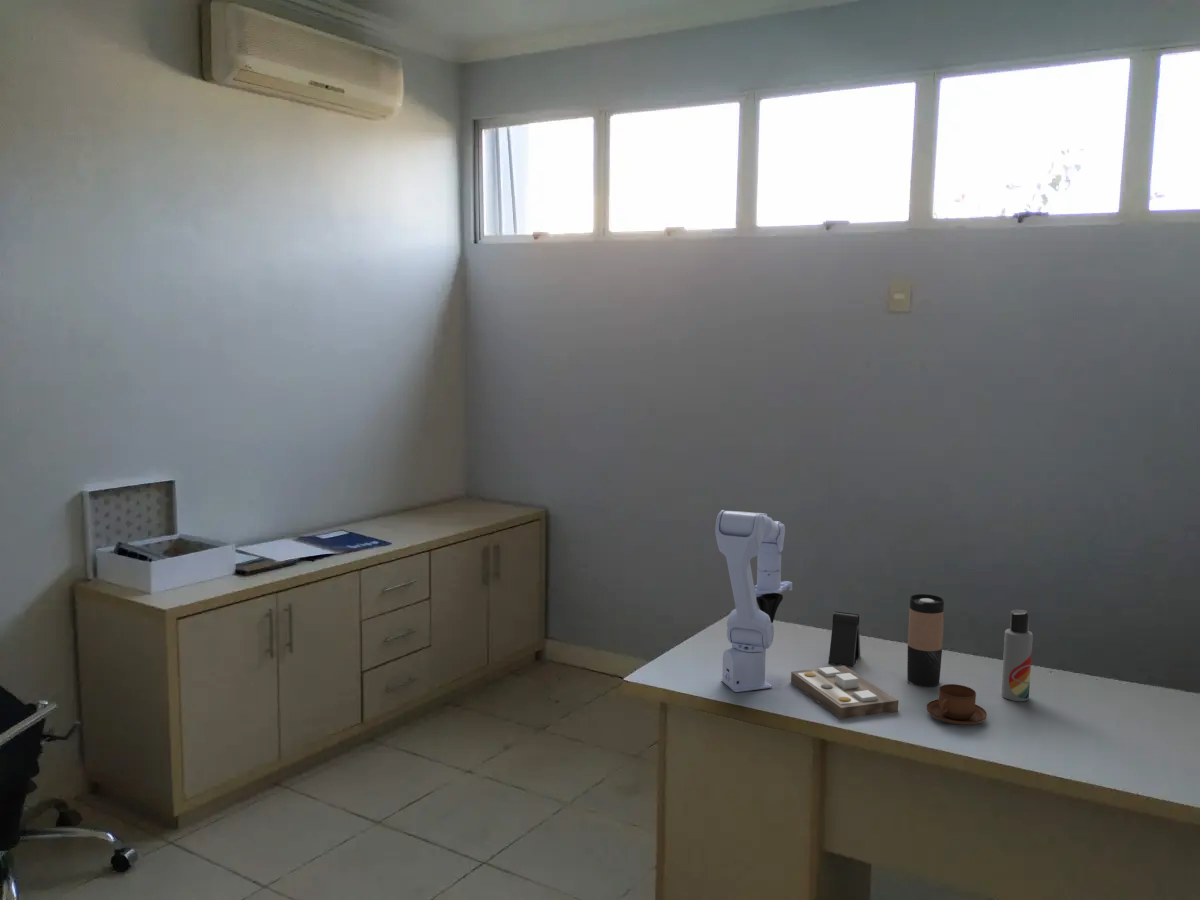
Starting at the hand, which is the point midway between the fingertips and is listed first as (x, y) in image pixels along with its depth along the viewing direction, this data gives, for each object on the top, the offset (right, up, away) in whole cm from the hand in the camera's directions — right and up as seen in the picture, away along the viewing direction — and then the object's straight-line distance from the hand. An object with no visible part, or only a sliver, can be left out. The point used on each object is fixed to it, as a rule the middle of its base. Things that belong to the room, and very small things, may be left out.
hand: (767, 622), depth 230 cm
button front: (+16, -14, -26) cm, 34 cm away
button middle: (+14, -11, -19) cm, 26 cm away
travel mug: (+35, -12, -10) cm, 38 cm away
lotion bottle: (+52, -13, -20) cm, 57 cm away
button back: (+12, -12, -12) cm, 21 cm away
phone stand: (+20, -10, +4) cm, 23 cm away
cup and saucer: (+35, -15, -31) cm, 49 cm away
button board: (+13, -13, -19) cm, 27 cm away
